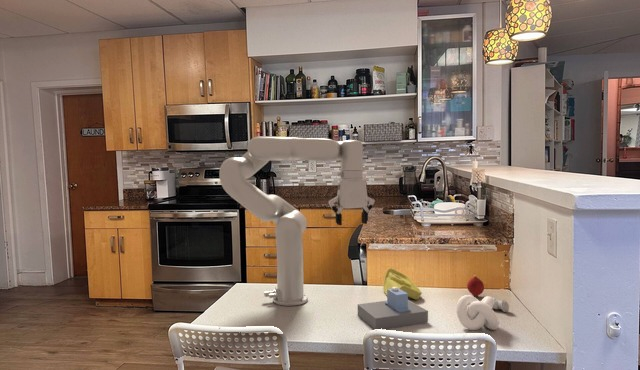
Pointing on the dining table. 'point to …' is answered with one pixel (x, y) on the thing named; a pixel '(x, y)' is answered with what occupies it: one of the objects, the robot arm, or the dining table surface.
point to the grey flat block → (391, 315)
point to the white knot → (476, 313)
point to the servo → (397, 300)
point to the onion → (475, 286)
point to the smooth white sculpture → (500, 304)
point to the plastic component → (400, 283)
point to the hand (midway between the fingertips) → (351, 224)
